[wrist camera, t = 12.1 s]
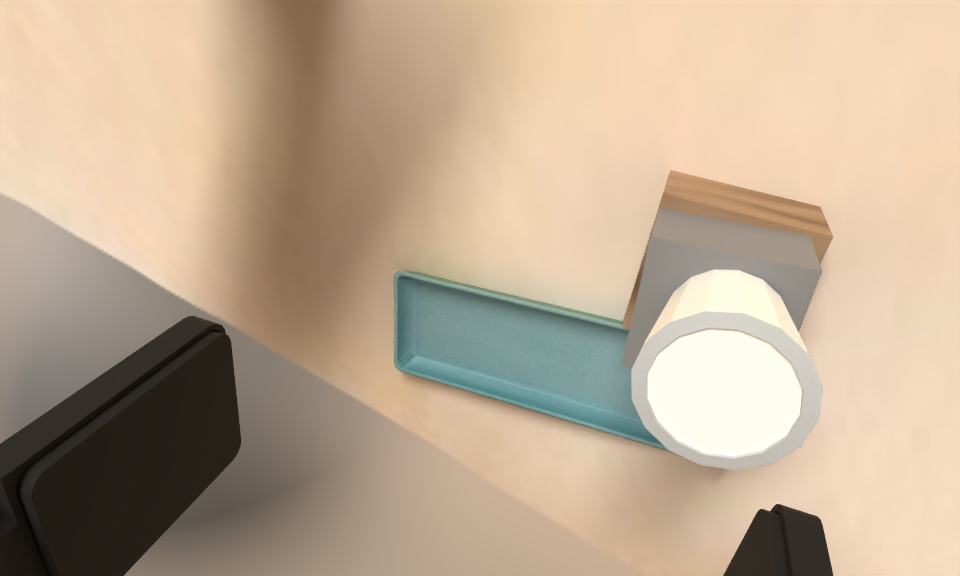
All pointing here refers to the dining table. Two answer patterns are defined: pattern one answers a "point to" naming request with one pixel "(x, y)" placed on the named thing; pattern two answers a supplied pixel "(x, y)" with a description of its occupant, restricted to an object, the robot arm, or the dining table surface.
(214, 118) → the dining table surface
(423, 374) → the teal serving tray
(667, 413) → the white cup
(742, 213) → the walnut base block
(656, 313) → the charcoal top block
